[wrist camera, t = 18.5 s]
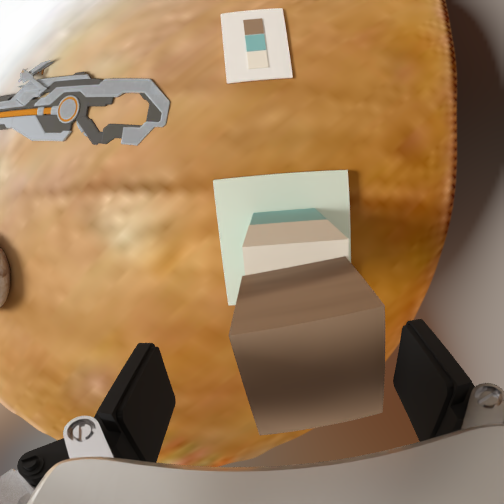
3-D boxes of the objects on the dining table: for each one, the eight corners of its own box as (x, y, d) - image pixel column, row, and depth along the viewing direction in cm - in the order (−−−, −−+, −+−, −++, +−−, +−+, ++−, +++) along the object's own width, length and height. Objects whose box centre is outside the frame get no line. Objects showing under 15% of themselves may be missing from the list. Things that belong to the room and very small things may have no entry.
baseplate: (214, 179, 28) (213, 180, 27) (344, 169, 27) (347, 170, 26) (229, 300, 31) (228, 305, 30) (348, 291, 30) (350, 295, 29)
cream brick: (248, 225, 21) (242, 247, 16) (327, 219, 21) (348, 239, 15) (255, 297, 23) (252, 339, 17) (328, 291, 23) (346, 332, 17)
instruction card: (220, 14, 23) (220, 13, 23) (282, 9, 22) (282, 7, 22) (227, 83, 25) (226, 83, 25) (292, 78, 25) (292, 77, 24)
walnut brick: (242, 275, 16) (228, 335, 10) (345, 256, 16) (384, 305, 10) (262, 360, 18) (259, 435, 12) (353, 343, 17) (382, 412, 11)
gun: (165, 150, 28) (184, 56, 25) (158, 150, 26) (178, 50, 23) (-46, 145, 27) (-37, 84, 24) (-55, 146, 25) (-46, 84, 22)
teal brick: (253, 212, 27) (249, 225, 22) (314, 208, 27) (327, 219, 21) (258, 271, 29) (256, 298, 23) (317, 266, 28) (329, 291, 23)
